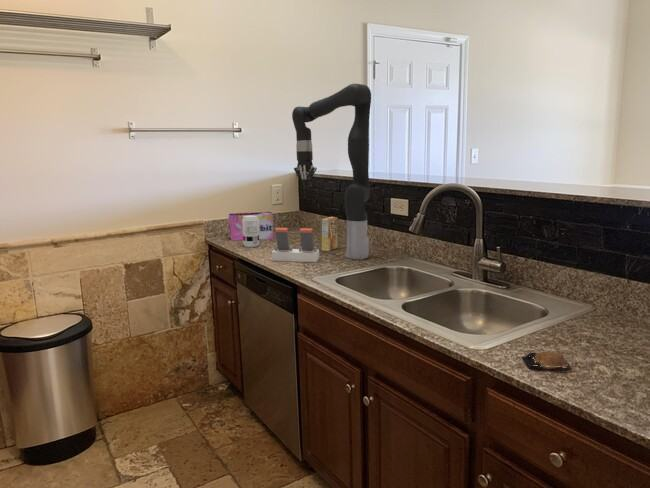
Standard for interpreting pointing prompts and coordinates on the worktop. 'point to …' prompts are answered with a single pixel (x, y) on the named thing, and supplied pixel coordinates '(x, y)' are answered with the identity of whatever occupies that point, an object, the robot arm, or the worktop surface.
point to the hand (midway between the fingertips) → (305, 187)
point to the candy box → (329, 233)
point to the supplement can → (250, 230)
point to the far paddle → (282, 238)
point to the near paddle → (307, 239)
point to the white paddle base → (295, 255)
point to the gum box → (264, 225)
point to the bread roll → (547, 362)
